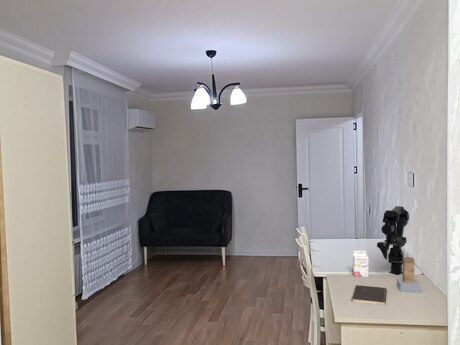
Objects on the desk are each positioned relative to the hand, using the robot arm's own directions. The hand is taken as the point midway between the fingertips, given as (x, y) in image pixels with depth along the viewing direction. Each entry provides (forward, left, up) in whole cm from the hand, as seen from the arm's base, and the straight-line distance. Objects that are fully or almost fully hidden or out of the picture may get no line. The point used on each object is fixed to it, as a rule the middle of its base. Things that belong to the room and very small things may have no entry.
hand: (390, 258), depth 271 cm
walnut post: (+10, +19, -8) cm, 23 cm away
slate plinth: (+10, +19, -12) cm, 25 cm away
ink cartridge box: (+10, -14, -12) cm, 21 cm away
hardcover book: (+36, +15, -13) cm, 41 cm away
